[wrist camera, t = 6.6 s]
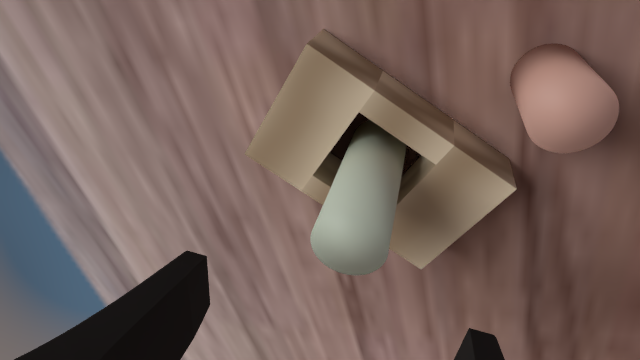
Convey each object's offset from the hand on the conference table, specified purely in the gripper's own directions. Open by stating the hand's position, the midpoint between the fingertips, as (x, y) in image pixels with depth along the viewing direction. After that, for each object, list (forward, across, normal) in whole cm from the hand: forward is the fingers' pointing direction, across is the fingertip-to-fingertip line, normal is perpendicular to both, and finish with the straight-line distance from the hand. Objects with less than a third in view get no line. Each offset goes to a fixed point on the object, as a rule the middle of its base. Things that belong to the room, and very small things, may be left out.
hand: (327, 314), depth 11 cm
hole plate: (+10, 0, 0) cm, 10 cm away
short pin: (+10, -6, -4) cm, 13 cm away
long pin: (+10, 0, 0) cm, 10 cm away
